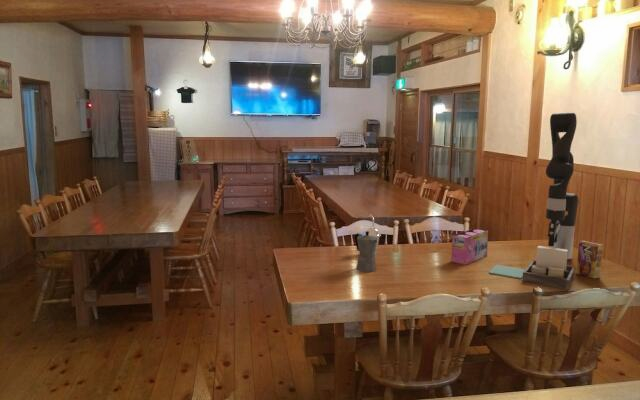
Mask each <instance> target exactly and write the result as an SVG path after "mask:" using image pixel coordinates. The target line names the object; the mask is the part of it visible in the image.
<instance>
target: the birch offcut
mask: <svg viewBox="0 0 640 400" xmlns="http://www.w3.org/2000/svg"><path fill="white" fill-rule="evenodd" d="M564 269H565V268H563V267H556V266H550V267H549V272H548V276H552V277H558V278H564Z"/></svg>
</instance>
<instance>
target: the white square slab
mask: <svg viewBox="0 0 640 400" xmlns="http://www.w3.org/2000/svg"><path fill="white" fill-rule="evenodd" d="M567 255H568V250H566V249H559V248H552V246H544V245H538V246H537V248H536V257H535V260H536V266H542V267H547V268H549V267H550V266H556V267H563V268H565V269H564V270H566V265H568V264H567V263H568V259H567Z"/></svg>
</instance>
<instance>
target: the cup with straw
mask: <svg viewBox="0 0 640 400" xmlns="http://www.w3.org/2000/svg"><path fill="white" fill-rule="evenodd" d="M369 215H370V217H371V218H372V227H369V228H368V229H366V231H368V232H369V235H370V236H375V237H376V238H377V243H376V249H375V252H374V256H375V255H378V254H377V253H378V248H379V241H380V237H382V234H381V233H380V231H379V229H378V228H376V227H375V217H374V216H373V215H372V213H370V214H369ZM364 235H366V232H364Z"/></svg>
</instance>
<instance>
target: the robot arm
mask: <svg viewBox="0 0 640 400" xmlns="http://www.w3.org/2000/svg"><path fill="white" fill-rule="evenodd" d="M577 122H578V121H577V114H576V112H573V111H570V112H567V111H566V112H556V113H552V114H550V118H549V127H550V135H551V146H552V148H551V149H552V154H551V159H550V161H549V162H548V164H547V166H546V168H545V175H546V177H547V178H549V179H551V180H553V184H550V185H549V188H548V195H547V200H546V201H547V202H546V212H545V218H546V219H548V220H550V222H549V223H548V230H547V231H548V233H547V237H548V244H547V245H548V246H547V247H552V248H559V249H566V250H568V255H567V260H571V259H572V256H573V247H574V238H575V237H574V236H575V228H576V220H577V214H578V213H577V212H578V206H579V196H578V195H577V194H576V193H572V192H571V193H569V192H567V191H568V186H569V184H570V183H569V182H570V181H571V178H572V176H573V174H574V167H575V166H574V155H573V154H572V152H571V148H572V144H573V140H574V137H575V134H576V131H577ZM560 133H564V135H562V136H560ZM566 212H567V214H566Z"/></svg>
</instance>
